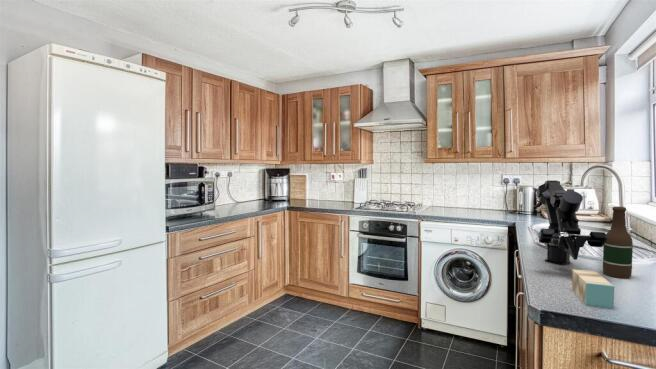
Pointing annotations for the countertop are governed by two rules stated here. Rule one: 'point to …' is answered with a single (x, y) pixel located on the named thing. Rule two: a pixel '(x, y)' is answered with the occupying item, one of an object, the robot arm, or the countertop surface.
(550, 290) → the countertop surface
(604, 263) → the beer bottle
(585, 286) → the pine block
